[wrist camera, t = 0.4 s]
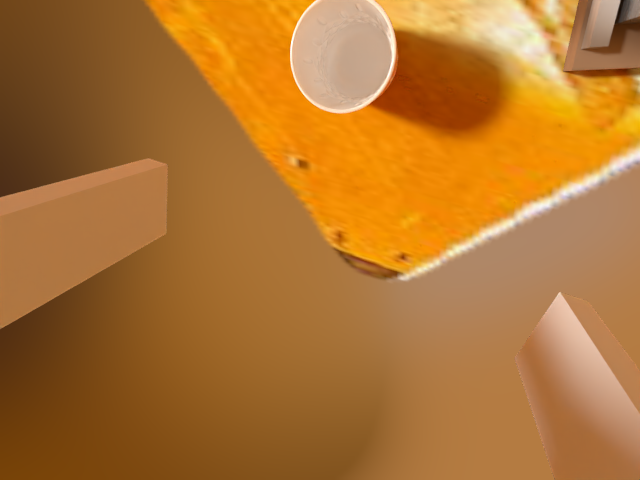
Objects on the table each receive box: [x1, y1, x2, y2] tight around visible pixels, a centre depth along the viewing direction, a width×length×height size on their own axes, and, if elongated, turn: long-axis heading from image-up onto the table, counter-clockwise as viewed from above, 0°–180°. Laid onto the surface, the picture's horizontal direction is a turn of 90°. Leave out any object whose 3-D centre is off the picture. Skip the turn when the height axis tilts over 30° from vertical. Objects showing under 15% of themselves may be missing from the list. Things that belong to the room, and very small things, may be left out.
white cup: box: [290, 0, 398, 113], centre depth 29 cm, size 8×8×10 cm
